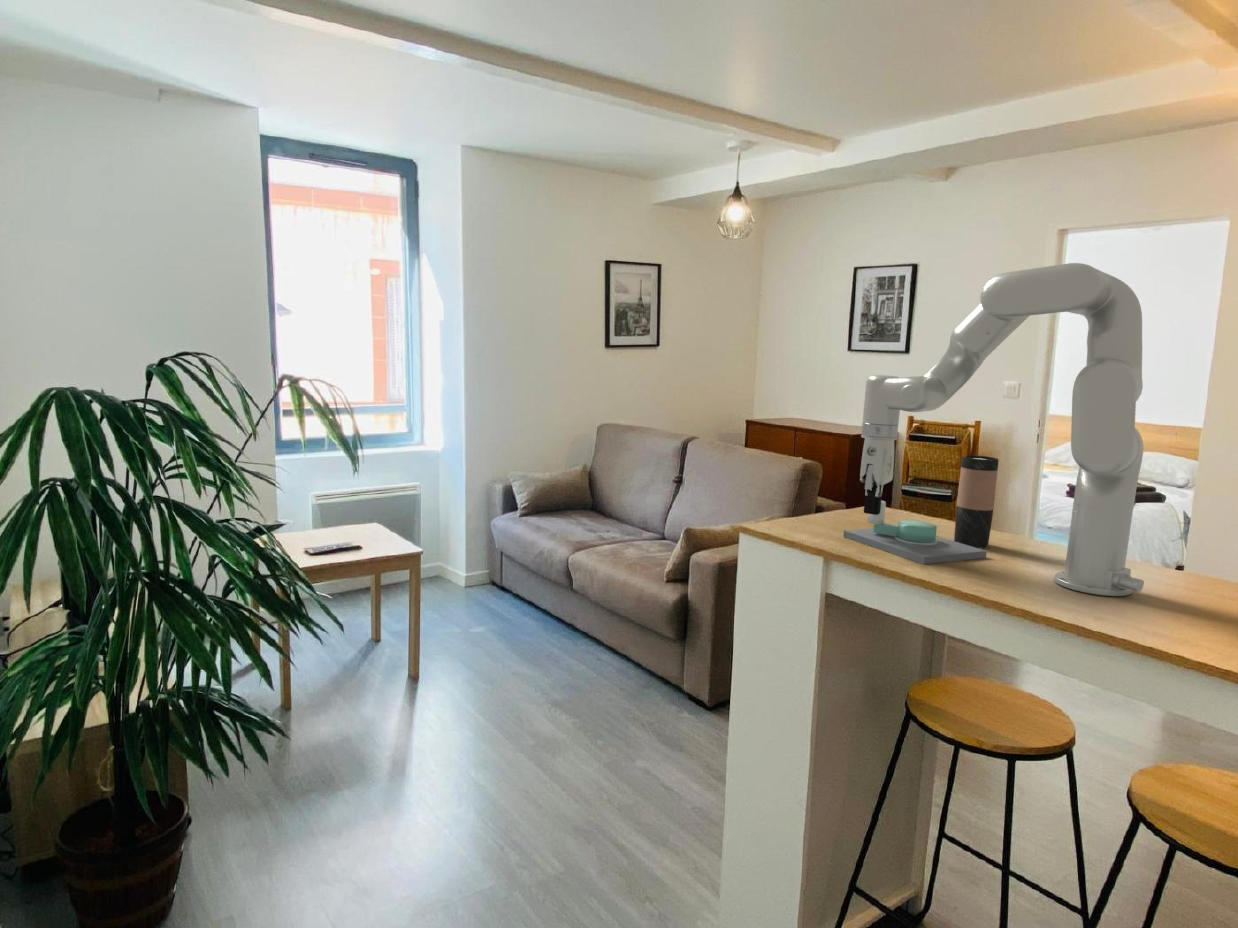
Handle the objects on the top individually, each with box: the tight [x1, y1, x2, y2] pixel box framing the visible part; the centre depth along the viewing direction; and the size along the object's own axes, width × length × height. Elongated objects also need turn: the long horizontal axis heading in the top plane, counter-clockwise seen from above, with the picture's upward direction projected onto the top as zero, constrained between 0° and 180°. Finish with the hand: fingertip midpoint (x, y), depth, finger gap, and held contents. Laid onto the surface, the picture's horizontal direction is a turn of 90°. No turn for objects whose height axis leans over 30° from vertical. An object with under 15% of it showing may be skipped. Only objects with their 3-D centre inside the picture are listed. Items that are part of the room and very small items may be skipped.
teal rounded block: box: [866, 500, 938, 542], centre depth 174 cm, size 15×8×7 cm, turn 58°
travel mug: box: [953, 454, 1000, 549], centre depth 176 cm, size 8×8×20 cm
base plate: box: [843, 527, 988, 565], centre depth 173 cm, size 24×18×2 cm
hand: (871, 513), depth 174 cm, fingers closed
